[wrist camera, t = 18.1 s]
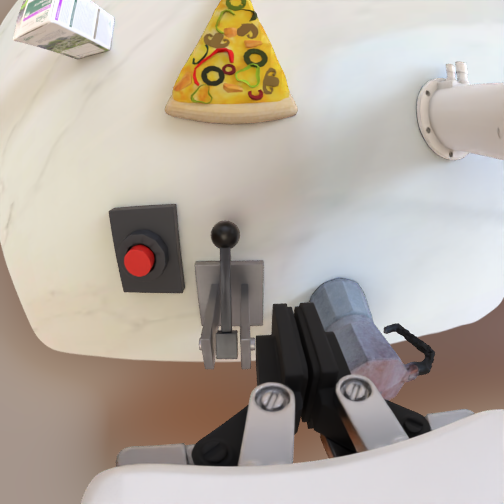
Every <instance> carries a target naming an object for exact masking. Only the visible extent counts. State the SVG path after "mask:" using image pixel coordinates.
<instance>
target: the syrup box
mask: <svg viewBox="0 0 504 504" xmlns="http://www.w3.org/2000/svg"><path fill="white" fill-rule="evenodd" d="M114 20H115V19H114V17H112V16H111V15H110V14H108V13H107V12H106V11H104V10H103V9H102V8H100V7H99V6H97V5H96V4H95V3H93V2H92V1H91V0H25V1H24V2H23V4H22V7H21V10H20V12H19V15H18V19H17V22H16V26H15V32H14V38H13V40H14V41H18V42H22V43H26V44H30V45H33V46H37V47H40V48H44V49H47V50H51V51H54V52H57V53H60V54H63V55H66V56H70V57H72V58H75V59H80V58H83V57H87V56H90V55H93V54H97V53H101V52H105V51H109V50H110V46H111V40H112V33H113V26H114Z"/></svg>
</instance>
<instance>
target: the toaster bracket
mask: <svg viewBox="0 0 504 504" xmlns="http://www.w3.org/2000/svg"><path fill="white" fill-rule="evenodd" d="M195 273H196V282H197V291H198V300H199V308H200V316H201V324H202V326H203V328H202V334H201V338H200V339H199V349H200V350H202V353H203V360H204V365H205V369H214V364H215V355H216V333H217V331H218V328H219V326H221V291H220V261H202V262H196V263H195ZM231 306H232V326H240V344H241V367H242V369H251V350H255V338H250V326H261V325H263V261H231Z"/></svg>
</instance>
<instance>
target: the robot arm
mask: <svg viewBox="0 0 504 504" xmlns="http://www.w3.org/2000/svg"><path fill="white" fill-rule="evenodd" d="M455 65H456V73H457V79H458V80H456V79H455V68H454V65H452V64H446V71H447V78H446V79H445V78H437V79H433V80H430V81H428V82H427V83H426V84H425V85H424V86H423V87H422V89H421V91H420V93H419V96H418V100H417V118H418V123H419V127H420V130H421V133H422V135H423V137H424V139H425V141H426V142H427V144H428V145H429V147H430V148H431V149H432V150H433V151H434V152H435V153H436V154H437V155H439V156H441V157H443V158H446V159H450V160H459V159H462V158H464V157H465V156H466V155H468V154H469V153H473V154H478V155H483V156H488V157H492V158H496V159H501V160H504V83H487V84H474V85H470V83H469V82H468V79H467V75H468V72H467V64H466V63H464V62H459V61H458V62H455ZM256 371H257V387H256V388H255V389H254V390H253V391H252V393H251V396H250V401H249V405H247V406H246V407H245V408H244V409H242V410H241V411H240V412H238V413H237V414H236V415H234V416H233V417H232V418H230V419H229V420H228V421H226V422H225V423H224V424H222V425H221V426H219V427H218V428H217V429H215V430H214V431H212V432H211V433H210V434H208V435H207V436H205V437H204V438H202V439H201V440H199V441H198V442H197V443H196V444H193V445H185V444H184V443H182V444H171V445H157V446H133V447H127V448H125V449H123V450H121V451H120V452H119V454H118V455H117V459H116V467H115V468H111V469H107V470H105V471H102V472H100V473H99V474H97V475H96V476H95V477H94V478H93V479H92V481H91V482H90V484H89V485H88V487H87V489H86V491H85V493H84V495H83V498H82V501H81V504H504V410H502V409H499V410H488V411H483V412H479V413H476V414H474V413H473V412H472V411H470V410H468V409H460V410H454V411H447V412H440V413H432V414H427V415H426V416H425V417H424V416H422V415H421V414H419V413H416V412H414V411H412V410H409V409H406V408H404V407H402V406H400V405H397V404H395V403H393V402H390V401H388V400H386V399H384V398H383V397H382V395H381V394H380V392H379V391H378V389H377V388H376V386H375V385H374V383H373V382H372V381H371V380H370V379H368V378H367V377H365V376H362V375H356V374H352V375H351V372H350V370H349V367H348V365H347V362H346V360H345V357H344V355H343V352H342V350H341V348H340V345H339V343H338V340H337V338H336V336H335V334H334V332H333V331H330V332H325V330H324V328H323V325H322V323H321V320H320V318H319V315H318V312H317V310H316V307H315V305H314V303H313V302H310V303H300V305H299V306H298V307H295V310H294V313H293V310H292V307H287V304H273V312H272V335H260V336H256ZM300 418H301V419H302V422H307V425H308V429H310V428H314V430H315V431H316V432H318V433H320V438H321V441H322V443H323V446H324V448H325V451H326V453H327V455H328V458H329V459H325V460H318V461H310V462H303V463H294V464H293V449H294V435H295V434H296V433H297V431H298V426H299V422H300Z"/></svg>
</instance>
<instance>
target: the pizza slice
mask: <svg viewBox="0 0 504 504" xmlns="http://www.w3.org/2000/svg"><path fill="white" fill-rule="evenodd" d="M297 111H298V109H297V106H296V103H295V101H294V100H293V98H292V96H291V94H290V91H289V89H288V85H287V81H286V78H285V74H284V72H283V70H282V68H281V66H280V64H279V62H278V60H277V58H276V55H275V53H274V50H273V48H272V45H271V43H270V41H269V39H268V37H267V35H266V33H265V31H264V29H263V27H262V25H261V23H260V22H259V20H258V18H257V14H256V12H255V11H254V9H253V6H252V3H251V1H250V0H221V1H220V3H219V5H218V6H217V8H216V9H215V11H214V13H213V15H212V18H211V20H210V21H209V23H208V25H207V27H206V29H205V31H204V33H203V35H202V36H201V38H200V40H199V42H198V43H197V45H196V47H195V49H194V50H193V52H192V54H191V55H190V57H189V59H188V61H187V62H186V64H185V65H184V67H183V69H182V70H181V72H180V74H179V76H178V79H177V81H176V83H175V86H174V87H173V91H172V95H171V97H170V99H169V100H168V102H167V104H166V106H165V112H166V113H167V114H168V115H171V116H173V117H179V118H184V119H189V120H195V121H201V122H207V123H222V124H243V123H257V122H265V121H272V120H277V119H283V118H287V117H291V116H294V115H296V113H297Z"/></svg>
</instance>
